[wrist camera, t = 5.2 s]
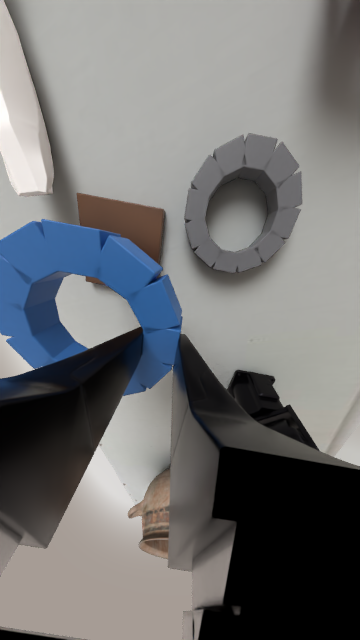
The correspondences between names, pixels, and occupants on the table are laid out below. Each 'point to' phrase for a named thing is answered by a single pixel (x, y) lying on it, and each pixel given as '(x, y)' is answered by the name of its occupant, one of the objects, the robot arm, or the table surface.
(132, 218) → the peg stand
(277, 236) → the grey ring
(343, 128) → the table surface
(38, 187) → the toy fish
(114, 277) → the blue ring
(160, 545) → the cooking pot
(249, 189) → the table surface
